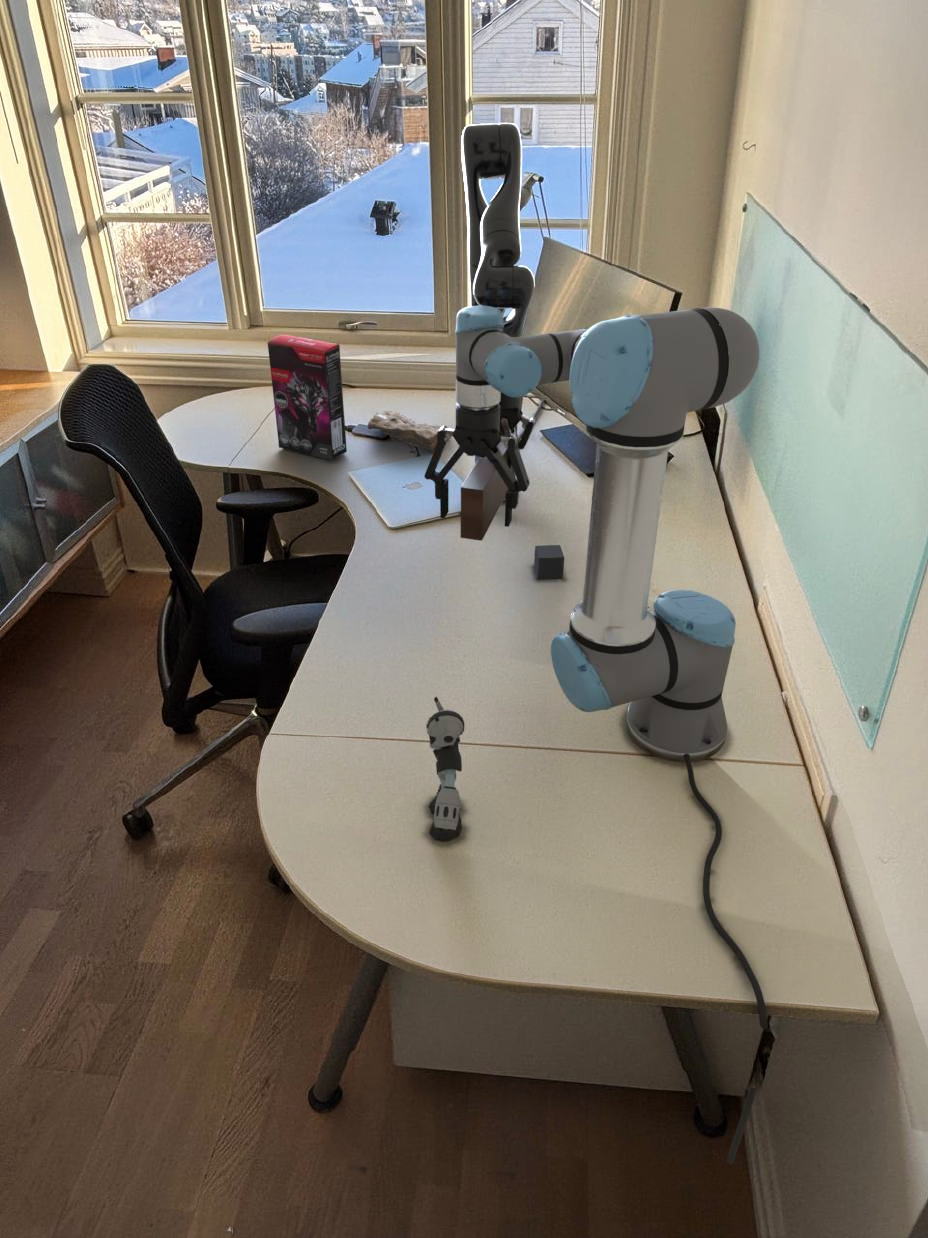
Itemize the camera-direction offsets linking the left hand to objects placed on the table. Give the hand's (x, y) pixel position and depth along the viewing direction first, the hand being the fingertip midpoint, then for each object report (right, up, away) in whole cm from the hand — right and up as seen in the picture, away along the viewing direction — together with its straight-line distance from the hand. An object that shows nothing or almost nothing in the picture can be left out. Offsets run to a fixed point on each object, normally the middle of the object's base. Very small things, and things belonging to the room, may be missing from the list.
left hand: (498, 465), depth 179 cm
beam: (-2, -9, -4) cm, 10 cm away
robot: (-9, -58, -52) cm, 78 cm away
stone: (-22, +16, +58) cm, 64 cm away
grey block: (+10, -21, +4) cm, 23 cm away
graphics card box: (-45, +12, +52) cm, 69 cm away
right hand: (-5, -12, -12) cm, 17 cm away
